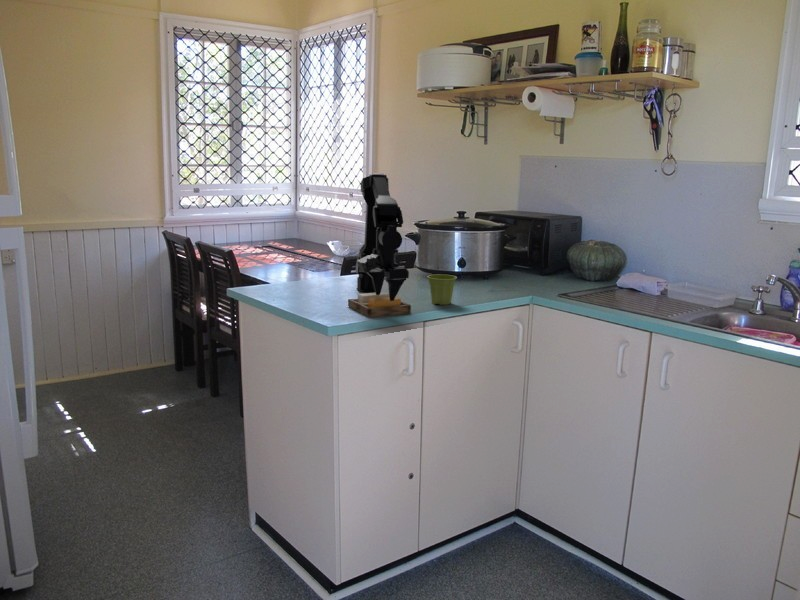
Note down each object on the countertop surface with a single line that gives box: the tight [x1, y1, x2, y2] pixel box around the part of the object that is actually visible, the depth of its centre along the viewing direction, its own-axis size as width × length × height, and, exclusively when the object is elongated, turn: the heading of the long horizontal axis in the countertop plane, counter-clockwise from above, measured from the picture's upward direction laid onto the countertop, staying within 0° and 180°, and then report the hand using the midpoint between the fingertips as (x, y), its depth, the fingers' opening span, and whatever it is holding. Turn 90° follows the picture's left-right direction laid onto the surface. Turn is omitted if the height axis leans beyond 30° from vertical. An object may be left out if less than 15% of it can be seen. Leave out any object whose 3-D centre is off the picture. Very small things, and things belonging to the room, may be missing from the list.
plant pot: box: [426, 273, 458, 306], centre depth 214 cm, size 9×9×9 cm
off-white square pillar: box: [357, 291, 389, 303], centre depth 205 cm, size 9×4×4 cm, turn 118°
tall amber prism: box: [369, 296, 402, 308], centre depth 199 cm, size 9×4×4 cm, turn 118°
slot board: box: [347, 298, 412, 318], centre depth 202 cm, size 14×14×2 cm
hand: (384, 297), depth 199 cm, fingers open, 9 cm apart
